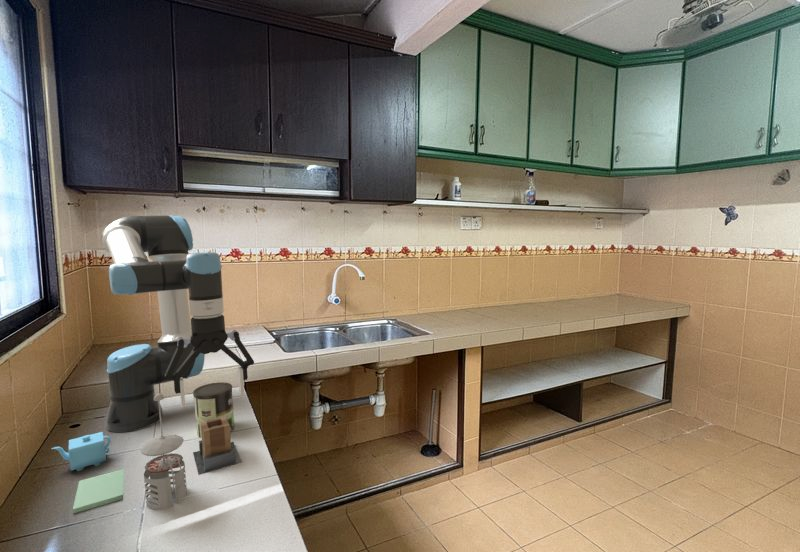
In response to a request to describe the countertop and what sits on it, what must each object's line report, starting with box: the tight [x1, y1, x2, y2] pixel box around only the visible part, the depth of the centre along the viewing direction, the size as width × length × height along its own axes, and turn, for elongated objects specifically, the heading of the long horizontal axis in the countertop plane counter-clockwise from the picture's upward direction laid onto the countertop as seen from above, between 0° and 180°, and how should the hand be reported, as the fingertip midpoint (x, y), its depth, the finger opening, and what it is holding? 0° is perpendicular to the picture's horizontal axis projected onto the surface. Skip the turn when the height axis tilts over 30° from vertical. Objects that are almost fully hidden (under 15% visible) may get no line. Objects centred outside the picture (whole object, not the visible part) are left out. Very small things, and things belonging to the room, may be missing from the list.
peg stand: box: [192, 425, 243, 476], centre depth 106 cm, size 12×10×10 cm
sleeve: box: [200, 416, 232, 457], centre depth 106 cm, size 6×6×9 cm
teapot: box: [51, 431, 112, 472], centre depth 106 cm, size 12×6×8 cm, turn 128°
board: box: [72, 468, 126, 514], centre depth 96 cm, size 12×10×1 cm
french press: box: [139, 393, 188, 510], centre depth 89 cm, size 10×12×25 cm
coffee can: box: [192, 382, 235, 439], centre depth 121 cm, size 10×10×14 cm
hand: (213, 398), depth 105 cm, fingers open, 13 cm apart
